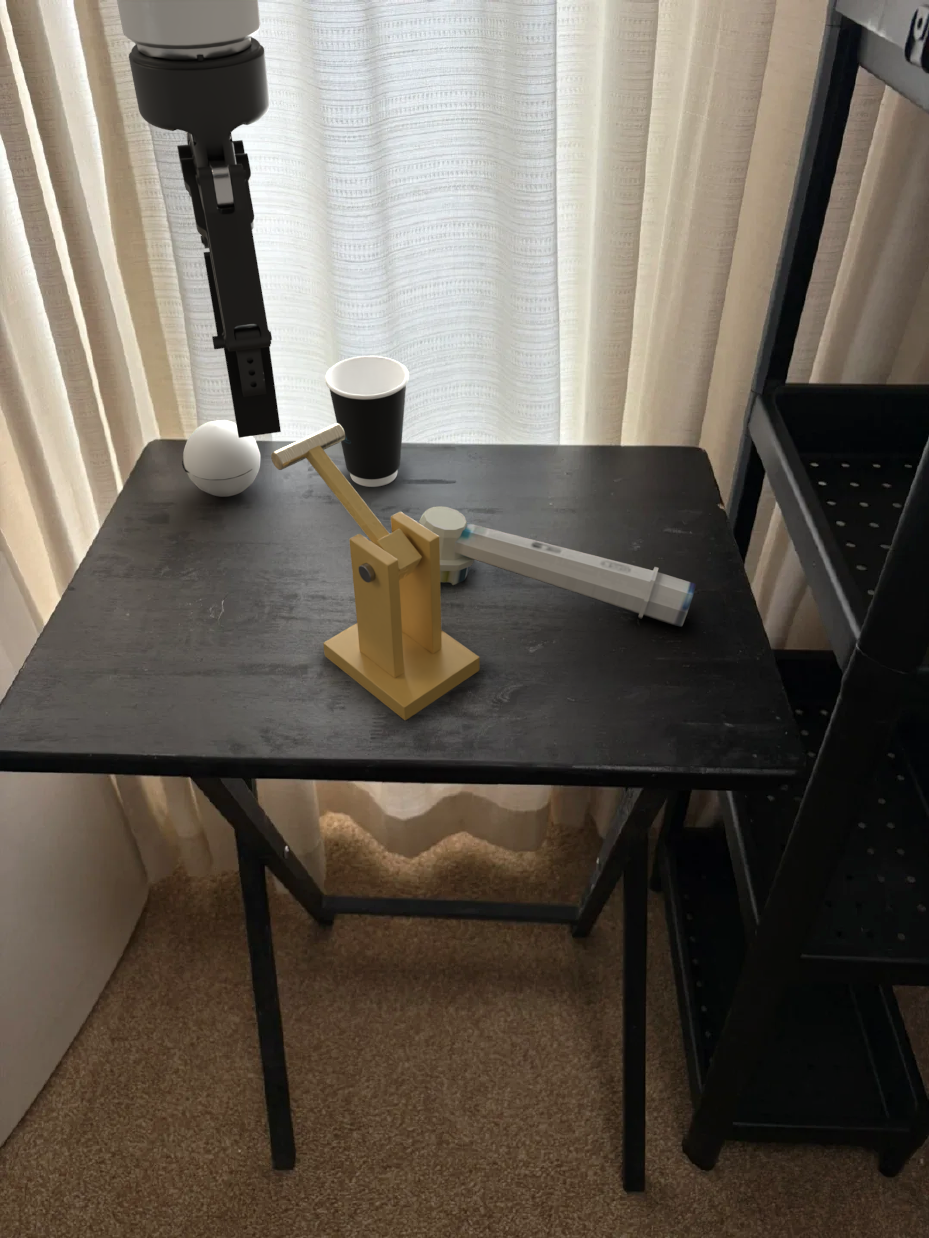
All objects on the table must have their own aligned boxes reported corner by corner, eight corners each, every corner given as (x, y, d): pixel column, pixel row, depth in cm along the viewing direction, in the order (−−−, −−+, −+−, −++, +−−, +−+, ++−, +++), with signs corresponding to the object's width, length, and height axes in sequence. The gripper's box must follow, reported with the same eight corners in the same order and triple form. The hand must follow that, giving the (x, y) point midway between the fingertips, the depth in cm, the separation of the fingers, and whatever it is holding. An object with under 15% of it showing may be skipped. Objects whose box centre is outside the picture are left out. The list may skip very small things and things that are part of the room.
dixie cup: (428, 468, 106) (426, 370, 99) (378, 505, 101) (372, 405, 94) (369, 443, 110) (362, 347, 102) (318, 478, 105) (307, 379, 98)
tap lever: (268, 463, 79) (273, 445, 77) (330, 434, 82) (337, 415, 80) (371, 596, 77) (379, 581, 75) (431, 561, 80) (441, 546, 78)
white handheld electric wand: (690, 606, 84) (401, 514, 88) (668, 663, 89) (394, 573, 92) (700, 567, 88) (422, 481, 91) (679, 624, 92) (415, 539, 96)
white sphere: (206, 465, 107) (193, 402, 102) (275, 473, 106) (266, 409, 101) (166, 522, 99) (150, 457, 95) (240, 532, 98) (228, 466, 93)
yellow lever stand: (324, 656, 86) (308, 530, 77) (398, 611, 90) (391, 487, 81) (405, 720, 80) (397, 593, 72) (479, 670, 84) (481, 544, 76)
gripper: (295, 98, 50) (331, 470, 64) (238, -9, 68) (277, 300, 82) (134, 110, 49) (208, 488, 63) (120, -2, 67) (179, 311, 81)
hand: (247, 382), depth 73 cm, fingers open, 13 cm apart
